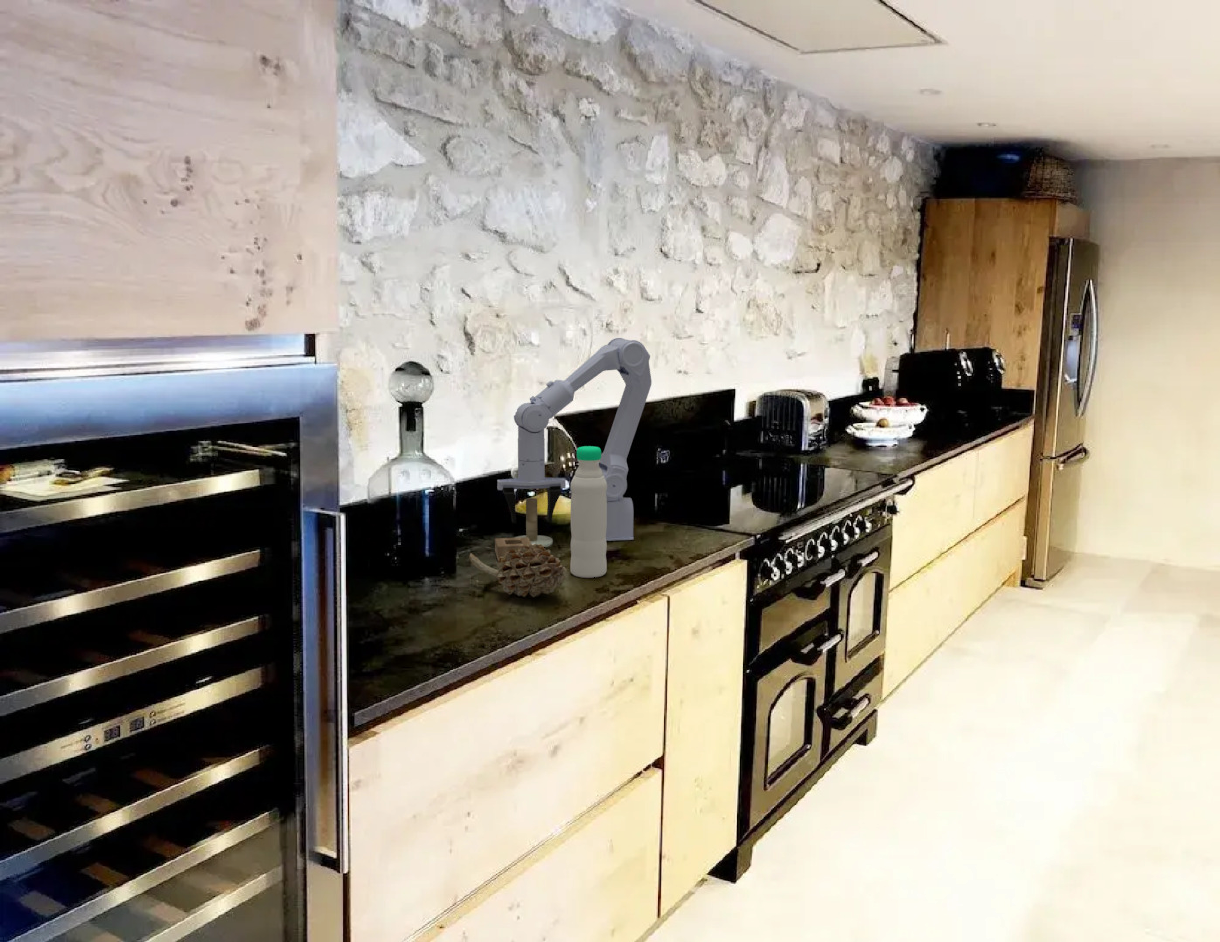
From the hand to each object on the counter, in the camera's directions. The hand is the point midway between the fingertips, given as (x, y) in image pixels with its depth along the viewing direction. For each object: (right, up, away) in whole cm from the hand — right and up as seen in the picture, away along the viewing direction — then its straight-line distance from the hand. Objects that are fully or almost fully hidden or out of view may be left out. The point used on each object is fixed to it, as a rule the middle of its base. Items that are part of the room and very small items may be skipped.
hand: (531, 521), depth 235 cm
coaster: (0, -5, +1) cm, 5 cm away
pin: (0, -4, +1) cm, 4 cm away
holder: (-3, -7, -10) cm, 12 cm away
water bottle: (+13, -9, -23) cm, 28 cm away
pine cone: (-1, -12, -36) cm, 38 cm away
